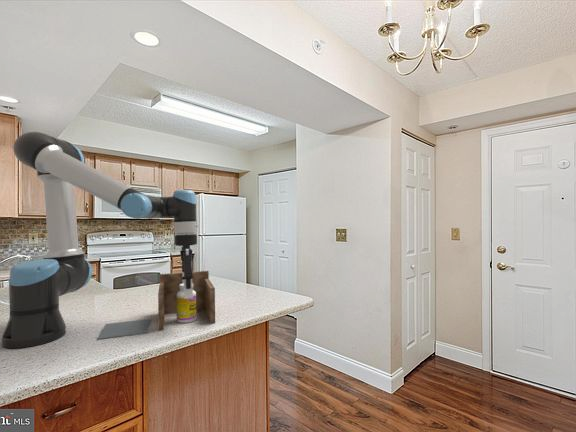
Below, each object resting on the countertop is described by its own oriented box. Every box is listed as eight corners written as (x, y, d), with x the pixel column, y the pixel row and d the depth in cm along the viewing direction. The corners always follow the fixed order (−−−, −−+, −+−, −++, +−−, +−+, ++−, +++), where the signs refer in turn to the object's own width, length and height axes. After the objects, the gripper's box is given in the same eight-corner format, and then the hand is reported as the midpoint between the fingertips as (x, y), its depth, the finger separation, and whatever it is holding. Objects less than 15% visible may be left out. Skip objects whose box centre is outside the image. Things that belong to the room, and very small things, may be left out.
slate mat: (96, 340, 92) (97, 338, 92) (106, 325, 105) (106, 323, 105) (148, 333, 97) (148, 331, 97) (150, 319, 110) (150, 318, 110)
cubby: (158, 330, 99) (158, 284, 99) (160, 313, 117) (159, 274, 117) (215, 323, 106) (214, 279, 106) (208, 307, 124) (208, 270, 124)
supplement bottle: (190, 324, 105) (190, 286, 105) (172, 323, 106) (172, 285, 106) (199, 317, 111) (199, 282, 112) (183, 316, 113) (182, 281, 113)
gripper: (199, 234, 99) (201, 300, 99) (194, 232, 122) (195, 285, 122) (175, 236, 96) (177, 303, 96) (174, 233, 119) (175, 287, 119)
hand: (187, 293), depth 109 cm, fingers open, 13 cm apart
